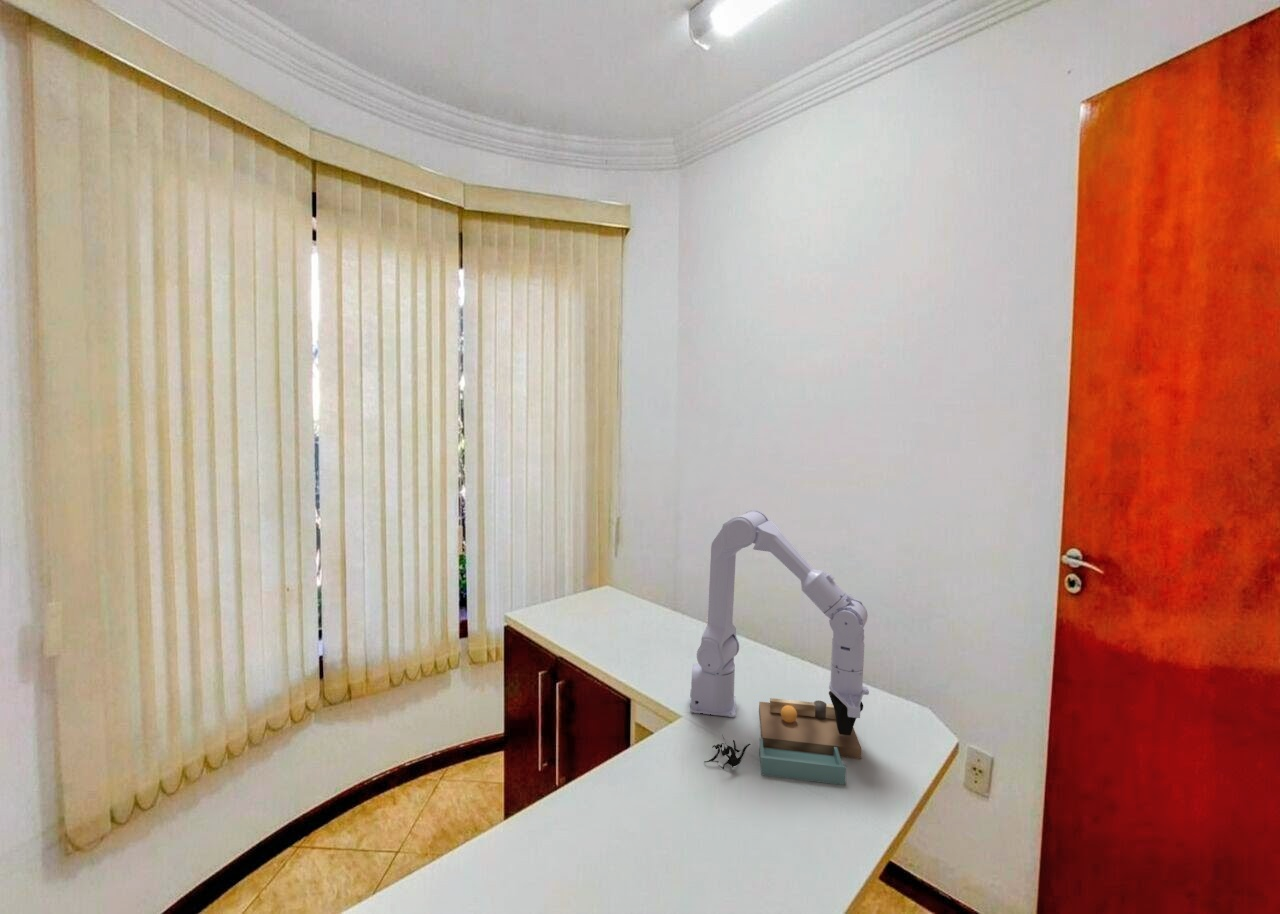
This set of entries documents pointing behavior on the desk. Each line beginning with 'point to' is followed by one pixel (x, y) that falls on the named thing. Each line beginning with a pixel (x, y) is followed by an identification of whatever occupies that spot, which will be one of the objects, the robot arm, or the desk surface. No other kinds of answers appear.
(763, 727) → the board
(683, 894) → the desk surface
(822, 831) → the desk surface
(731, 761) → the creature
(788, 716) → the ball
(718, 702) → the robot arm
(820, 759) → the teal shallow crate
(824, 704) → the lever
